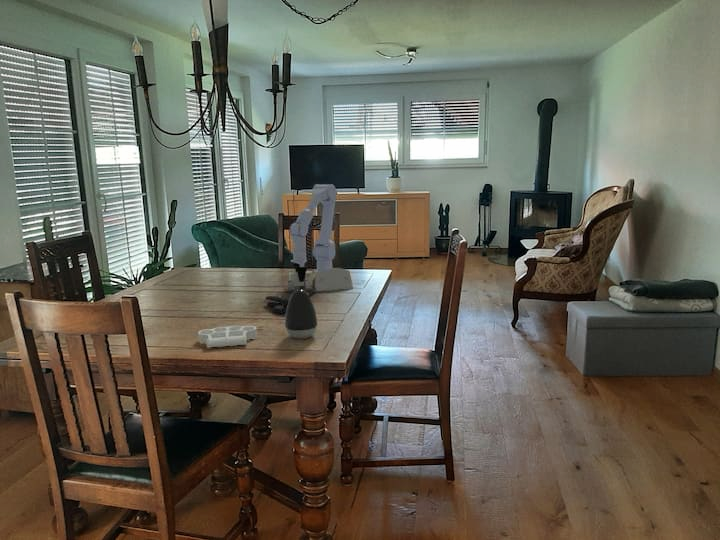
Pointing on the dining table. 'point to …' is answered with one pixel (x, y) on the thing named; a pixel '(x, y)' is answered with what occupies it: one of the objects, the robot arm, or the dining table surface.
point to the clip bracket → (293, 288)
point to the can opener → (278, 306)
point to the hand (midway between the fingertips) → (300, 280)
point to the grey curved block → (333, 279)
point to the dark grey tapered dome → (301, 315)
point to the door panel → (295, 278)
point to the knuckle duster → (227, 336)
